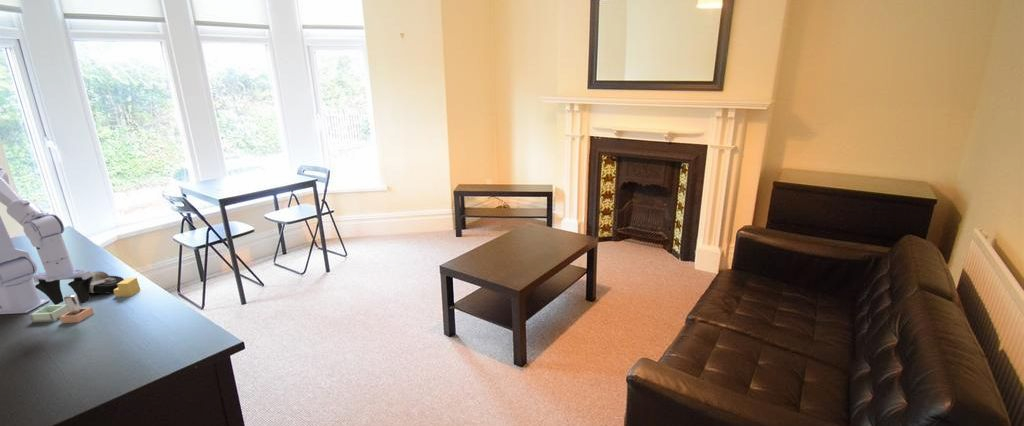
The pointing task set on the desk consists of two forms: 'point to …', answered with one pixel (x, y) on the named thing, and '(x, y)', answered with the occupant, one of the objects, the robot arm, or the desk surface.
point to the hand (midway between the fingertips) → (72, 302)
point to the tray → (49, 313)
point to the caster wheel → (103, 282)
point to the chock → (127, 287)
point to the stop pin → (73, 304)
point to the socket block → (76, 316)
